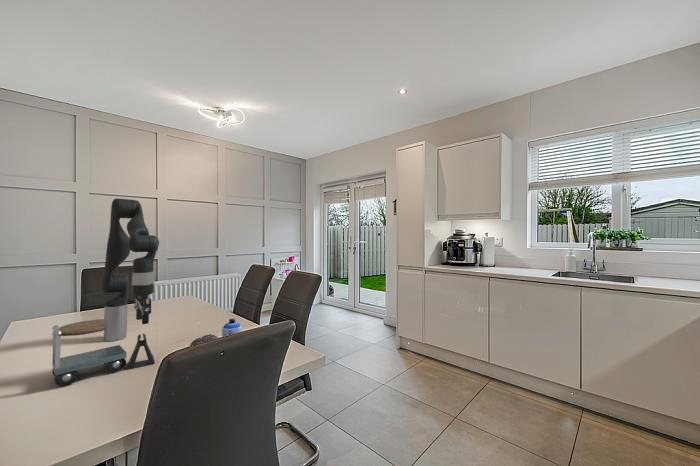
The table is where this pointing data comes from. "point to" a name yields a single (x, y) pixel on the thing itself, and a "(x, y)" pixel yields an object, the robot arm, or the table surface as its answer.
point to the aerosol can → (231, 328)
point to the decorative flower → (203, 339)
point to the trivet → (82, 327)
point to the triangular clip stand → (132, 363)
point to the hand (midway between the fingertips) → (142, 321)
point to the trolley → (83, 360)
